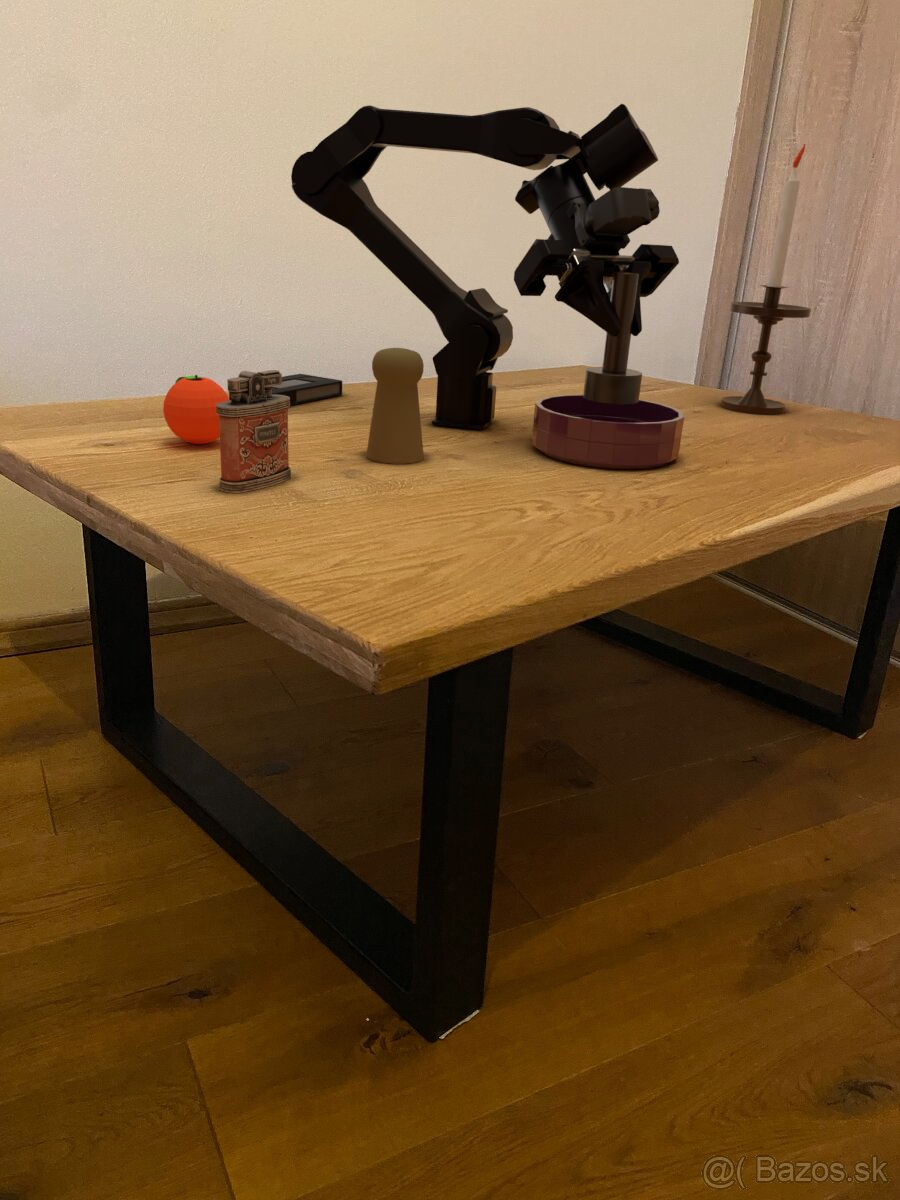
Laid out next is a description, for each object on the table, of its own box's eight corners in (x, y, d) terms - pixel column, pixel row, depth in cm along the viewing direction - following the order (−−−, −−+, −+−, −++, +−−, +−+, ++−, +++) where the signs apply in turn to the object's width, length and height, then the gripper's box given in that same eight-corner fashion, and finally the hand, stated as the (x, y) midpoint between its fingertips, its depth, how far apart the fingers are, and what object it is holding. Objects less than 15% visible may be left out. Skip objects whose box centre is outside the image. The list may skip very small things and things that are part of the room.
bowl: (522, 461, 98) (526, 414, 96) (541, 431, 113) (545, 389, 111) (677, 477, 95) (684, 429, 93) (677, 444, 110) (683, 402, 108)
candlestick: (798, 408, 138) (850, 147, 124) (780, 419, 129) (833, 139, 116) (726, 398, 143) (768, 146, 129) (704, 407, 134) (747, 139, 121)
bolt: (580, 401, 98) (594, 271, 93) (585, 392, 104) (599, 269, 99) (637, 406, 97) (654, 276, 92) (639, 397, 103) (656, 273, 98)
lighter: (238, 495, 81) (234, 379, 77) (210, 487, 83) (205, 374, 79) (299, 477, 88) (298, 369, 84) (272, 470, 89) (270, 365, 85)
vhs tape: (342, 395, 128) (343, 380, 127) (273, 409, 116) (273, 393, 115) (300, 387, 131) (300, 373, 130) (229, 401, 120) (228, 385, 119)
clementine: (147, 439, 98) (142, 371, 96) (203, 431, 103) (200, 366, 100) (189, 454, 93) (185, 382, 91) (246, 445, 98) (244, 377, 95)
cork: (431, 454, 99) (436, 348, 95) (411, 466, 94) (415, 355, 89) (379, 447, 101) (382, 343, 96) (356, 458, 95) (358, 349, 91)
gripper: (540, 149, 90) (600, 279, 85) (680, 165, 99) (740, 282, 95) (489, 233, 99) (541, 354, 95) (621, 239, 108) (674, 350, 104)
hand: (627, 333), depth 97 cm, fingers closed on bolt, 2 cm apart
